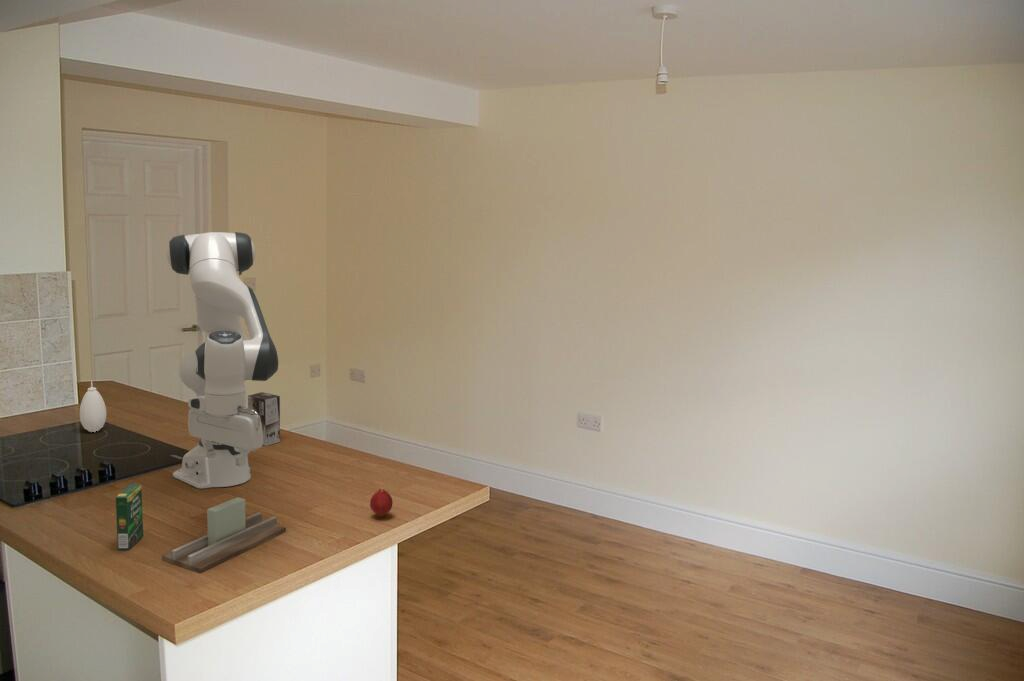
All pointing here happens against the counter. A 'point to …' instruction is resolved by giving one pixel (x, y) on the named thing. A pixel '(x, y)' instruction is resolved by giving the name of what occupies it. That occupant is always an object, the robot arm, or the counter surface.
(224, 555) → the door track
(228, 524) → the door panel
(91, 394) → the sauce bottle
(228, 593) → the counter surface
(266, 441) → the coffee box
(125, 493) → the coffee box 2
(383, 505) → the onion
